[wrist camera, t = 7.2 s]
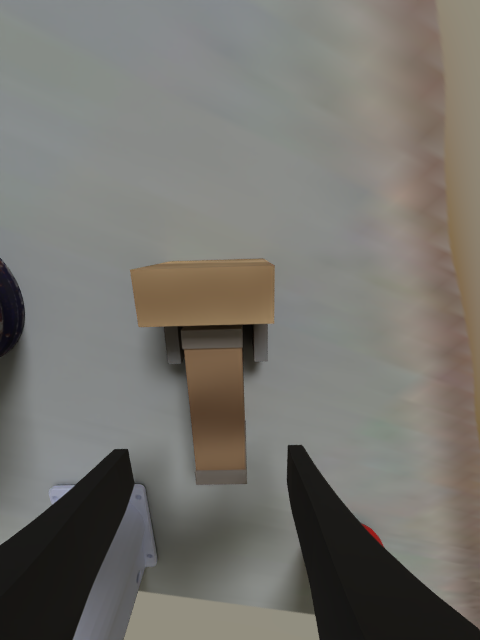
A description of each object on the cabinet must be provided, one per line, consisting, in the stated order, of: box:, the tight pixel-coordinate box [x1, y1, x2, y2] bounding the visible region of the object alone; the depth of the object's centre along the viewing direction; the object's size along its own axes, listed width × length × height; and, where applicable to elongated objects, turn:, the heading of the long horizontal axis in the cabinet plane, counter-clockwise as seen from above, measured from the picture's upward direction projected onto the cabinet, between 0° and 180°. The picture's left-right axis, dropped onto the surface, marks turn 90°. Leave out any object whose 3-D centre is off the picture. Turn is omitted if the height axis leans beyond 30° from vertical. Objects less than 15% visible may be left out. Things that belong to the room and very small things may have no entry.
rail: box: [181, 324, 247, 485], centre depth 16 cm, size 10×3×5 cm, turn 2°
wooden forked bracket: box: [130, 259, 275, 364], centre depth 14 cm, size 6×6×6 cm
